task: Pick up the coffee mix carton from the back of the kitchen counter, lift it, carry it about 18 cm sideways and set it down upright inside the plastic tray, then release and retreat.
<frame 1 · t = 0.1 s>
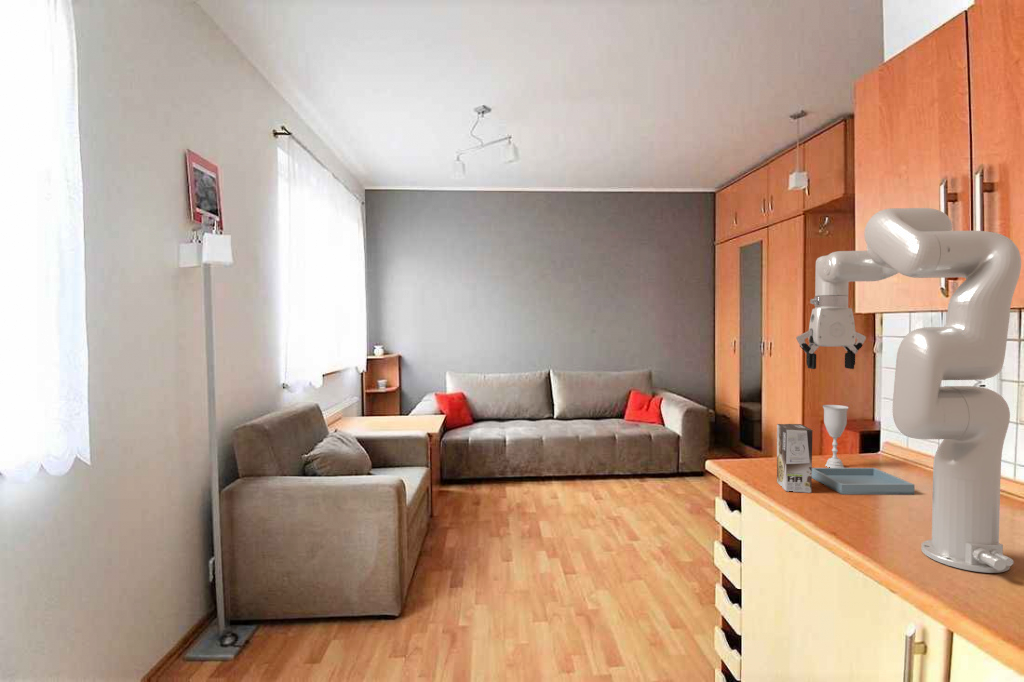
hand: (830, 368, 146), 31 cm above the counter, tool pointing down, fingers open, 9 cm apart
coffee box: (793, 488, 146), on the counter
tray: (858, 485, 148), on the counter
chalice: (834, 467, 167), on the counter
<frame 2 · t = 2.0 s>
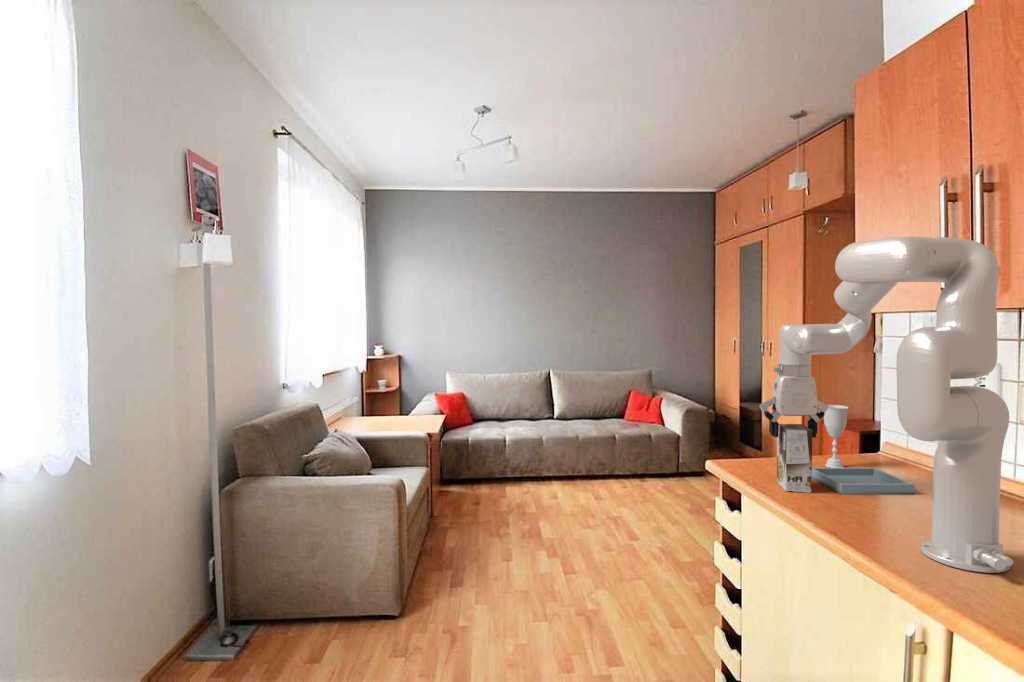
hand: (792, 436, 146), 13 cm above the counter, tool pointing down, fingers open, 9 cm apart
nothing on the counter moved.
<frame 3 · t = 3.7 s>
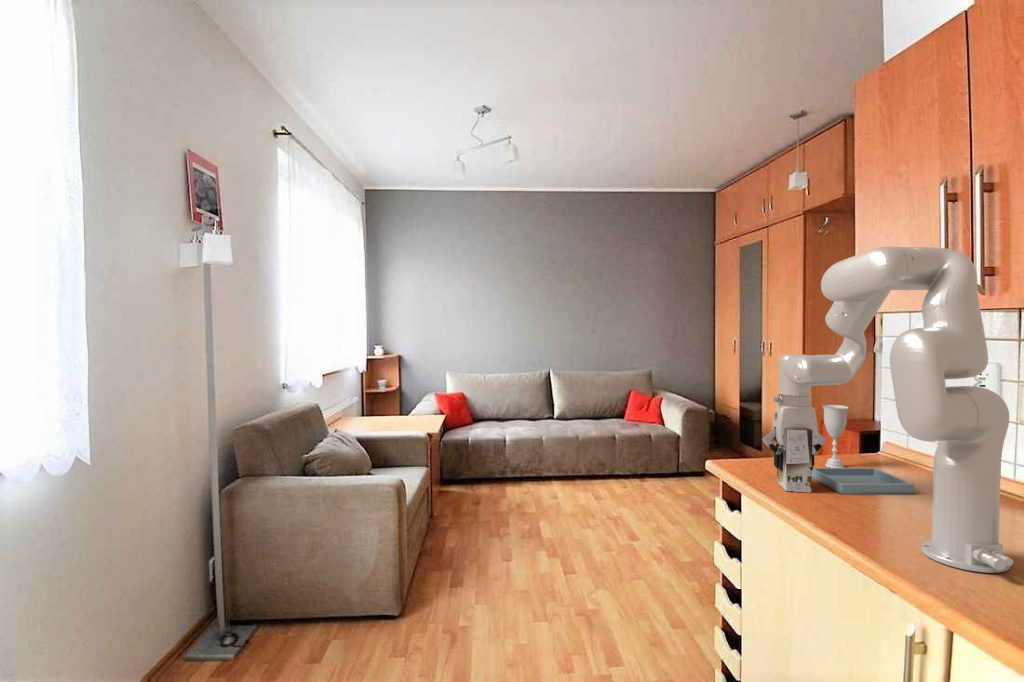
hand: (793, 468, 146), 5 cm above the counter, tool pointing down, fingers closed on coffee box, 7 cm apart
coffee box: (793, 488, 146), on the counter, touching gripper
everything else where it was.
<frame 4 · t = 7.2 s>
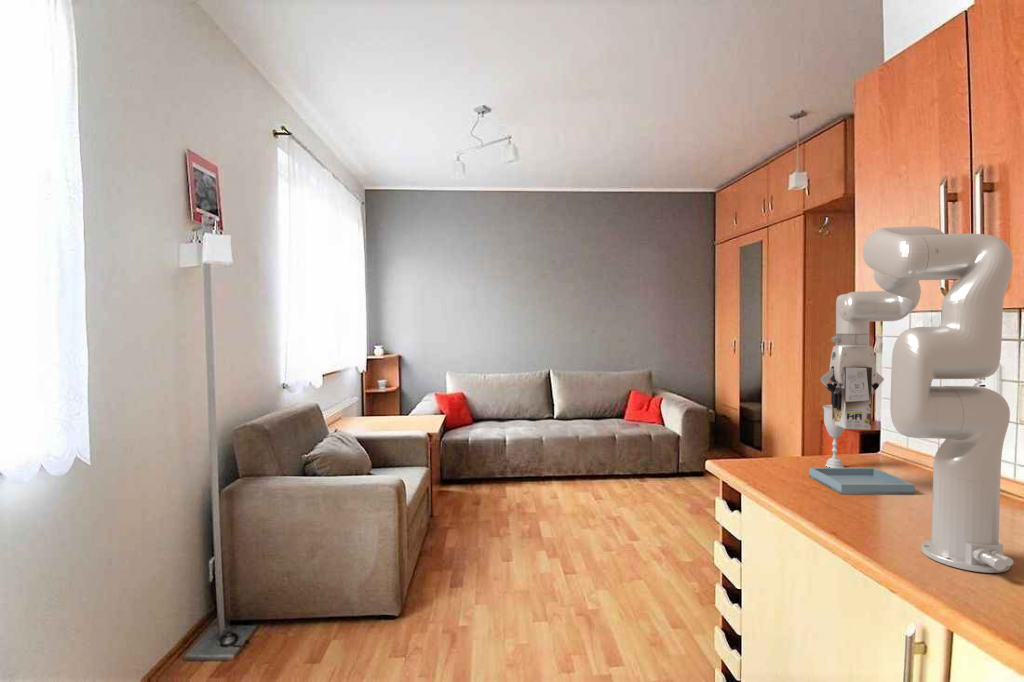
hand: (851, 407, 147), 21 cm above the counter, tool pointing down, fingers closed on coffee box, 7 cm apart
coffee box: (850, 427, 147), point 15 cm above the counter, touching gripper
everything else where it was.
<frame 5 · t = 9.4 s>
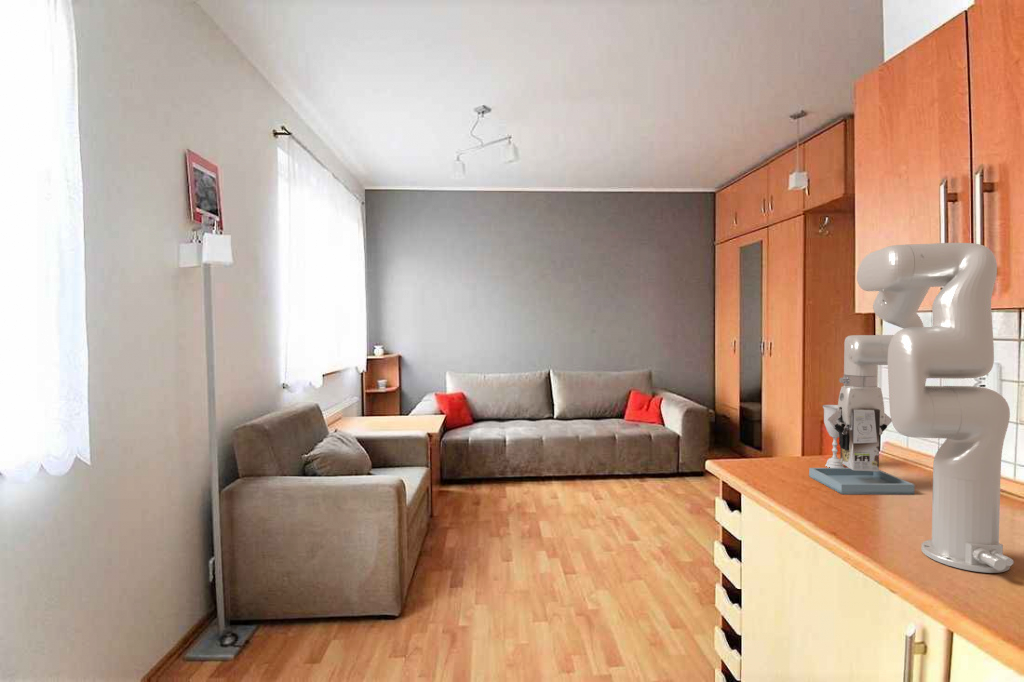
hand: (859, 448, 147), 10 cm above the counter, tool pointing down, fingers closed on coffee box, 7 cm apart
coffee box: (858, 467, 148), point 5 cm above the counter, touching gripper
everything else where it was.
when the fingers open (7 cm above the counter, at t = 11.0 s): coffee box drops 1 cm, resting on tray.
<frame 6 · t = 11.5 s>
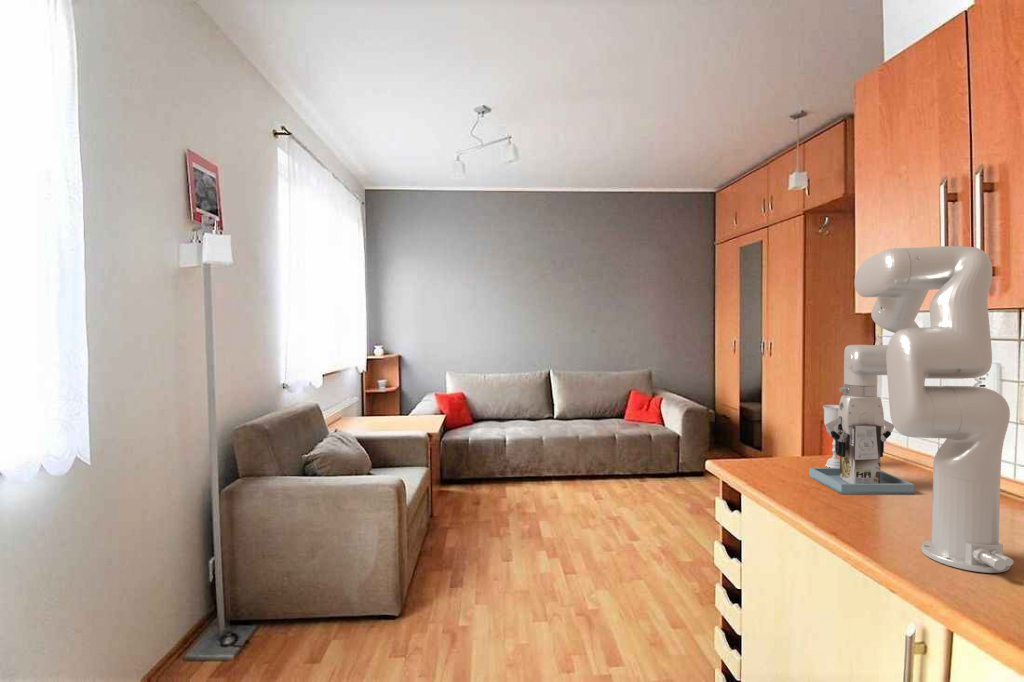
hand: (859, 455, 148), 8 cm above the counter, tool pointing down, fingers open, 9 cm apart
coffee box: (859, 483, 148), resting on tray
everything else where it was.
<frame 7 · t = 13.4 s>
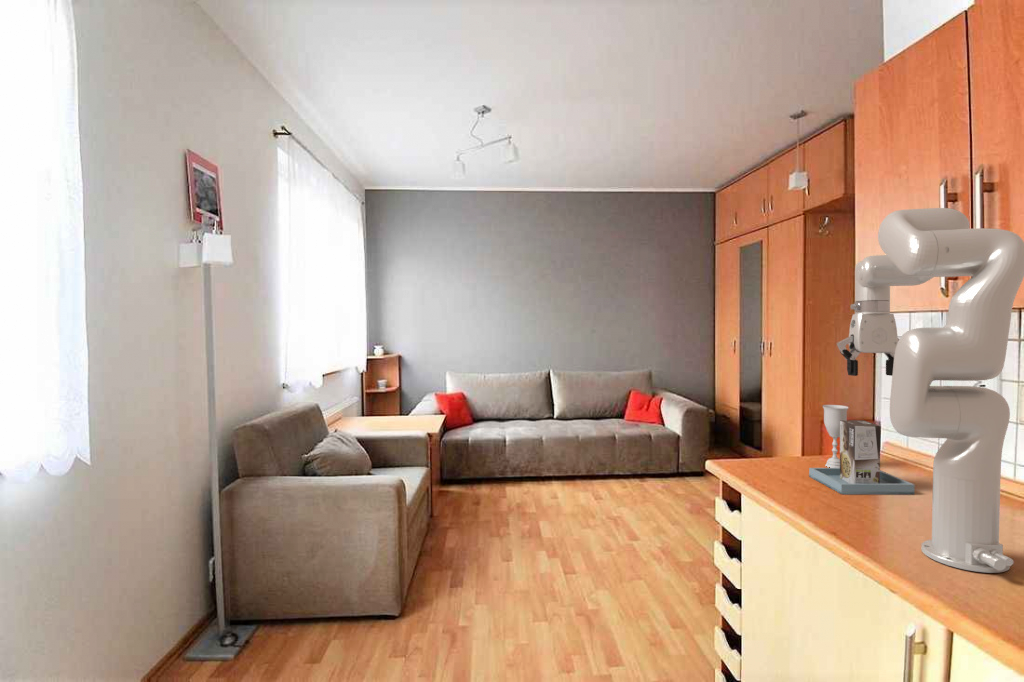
hand: (871, 375, 142), 30 cm above the counter, tool pointing down, fingers open, 9 cm apart
nothing on the counter moved.
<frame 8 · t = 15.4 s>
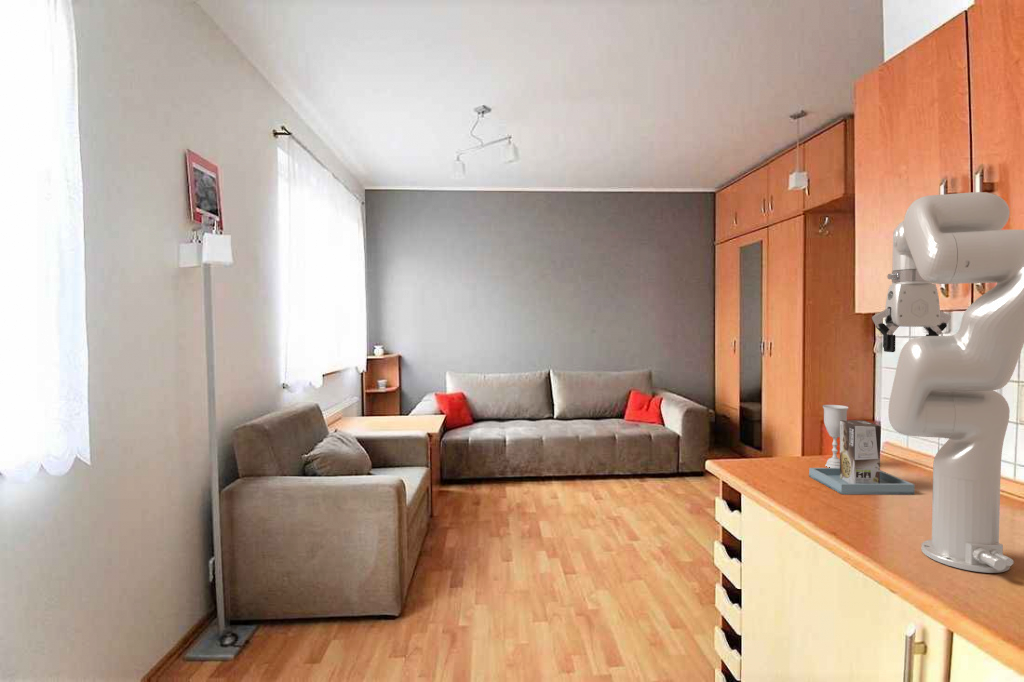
hand: (910, 351, 130), 36 cm above the counter, tool pointing down, fingers open, 9 cm apart
nothing on the counter moved.
at the end: coffee box inside the target area on the tray (0.2 cm from its centre), point 0.4 cm above the tray's base; coffee box tilted 0°; the gripper is holding nothing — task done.
